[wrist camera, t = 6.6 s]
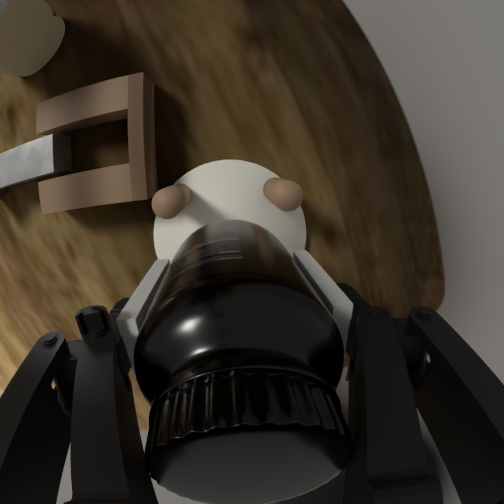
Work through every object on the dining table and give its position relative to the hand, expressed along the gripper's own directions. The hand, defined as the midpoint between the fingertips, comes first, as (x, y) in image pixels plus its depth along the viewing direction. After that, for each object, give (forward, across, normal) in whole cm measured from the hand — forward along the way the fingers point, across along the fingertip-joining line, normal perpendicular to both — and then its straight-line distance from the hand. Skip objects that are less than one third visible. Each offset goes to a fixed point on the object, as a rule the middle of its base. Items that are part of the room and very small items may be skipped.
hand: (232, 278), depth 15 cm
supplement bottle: (+1, 0, 0) cm, 1 cm away
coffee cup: (+9, -20, +23) cm, 32 cm away
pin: (+8, -20, +9) cm, 24 cm away
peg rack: (+9, 0, 0) cm, 9 cm away
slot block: (+9, -11, +9) cm, 17 cm away
